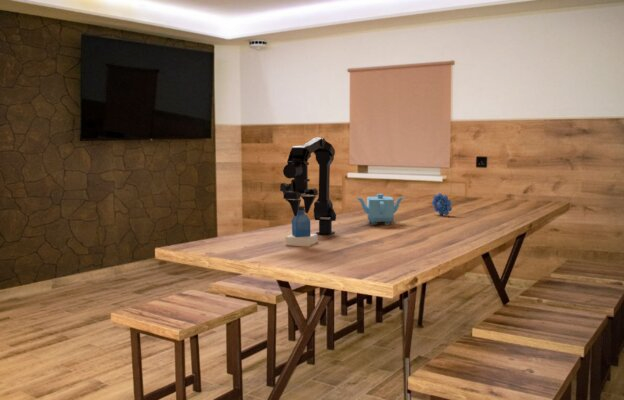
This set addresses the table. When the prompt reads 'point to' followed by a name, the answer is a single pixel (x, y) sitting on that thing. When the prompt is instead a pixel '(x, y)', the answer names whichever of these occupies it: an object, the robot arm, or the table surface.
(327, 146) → the robot arm
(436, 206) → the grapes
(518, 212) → the table surface
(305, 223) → the perfume bottle
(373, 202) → the teakettle
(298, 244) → the cream block
